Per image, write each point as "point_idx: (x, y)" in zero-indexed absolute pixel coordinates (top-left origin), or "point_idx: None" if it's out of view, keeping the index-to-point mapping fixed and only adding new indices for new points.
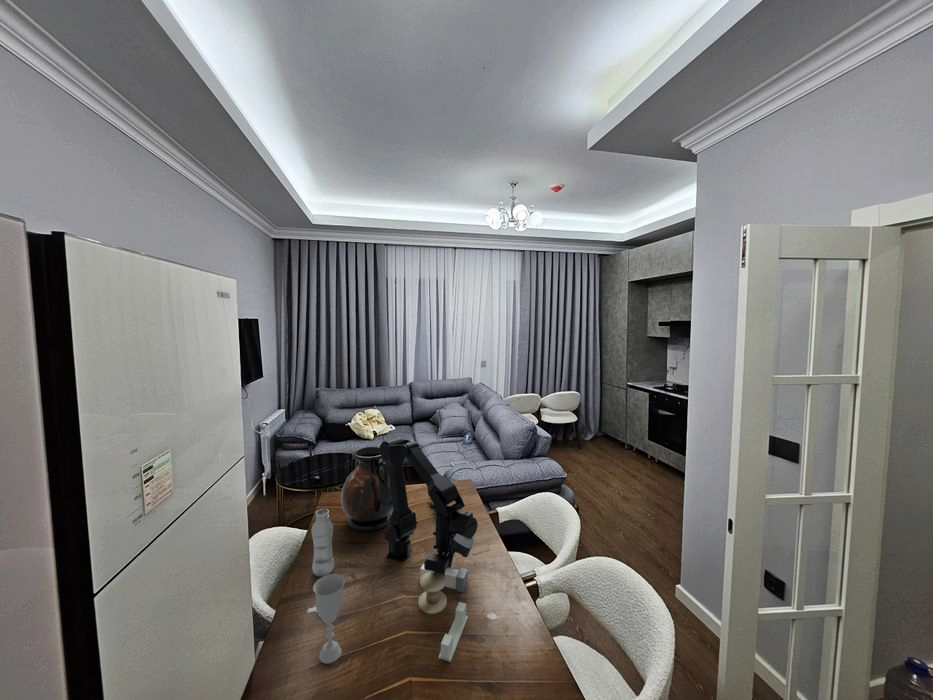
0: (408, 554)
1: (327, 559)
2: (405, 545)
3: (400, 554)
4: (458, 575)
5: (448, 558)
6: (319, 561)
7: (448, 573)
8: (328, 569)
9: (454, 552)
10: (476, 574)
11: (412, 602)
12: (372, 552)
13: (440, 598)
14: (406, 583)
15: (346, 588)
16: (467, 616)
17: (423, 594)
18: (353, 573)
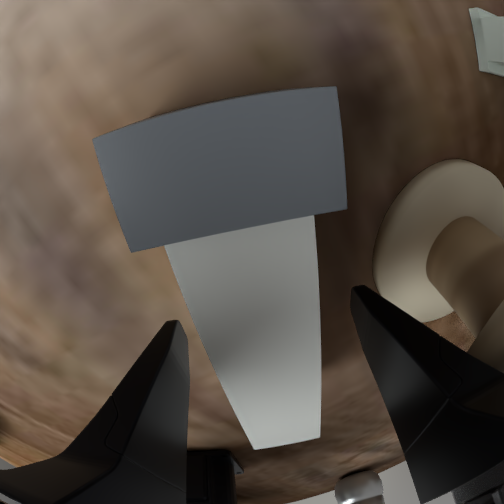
0: (195, 459)
1: (375, 501)
2: (210, 499)
3: (223, 471)
4: (305, 191)
5: (163, 425)
6: (383, 499)
7: (294, 312)
8: (371, 482)
9: (102, 474)
10: (30, 122)
11: (444, 317)
12: (243, 481)
13: (444, 217)
14: (342, 395)
15: (395, 441)
16: (481, 9)
17: (427, 313)
18: (341, 463)
